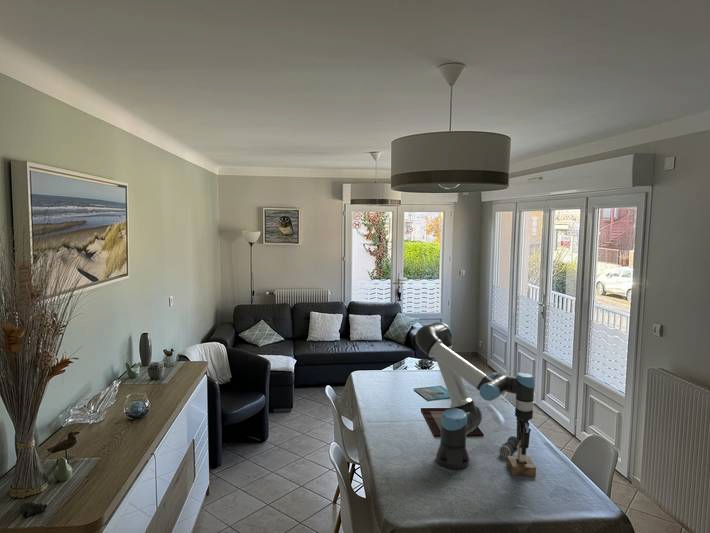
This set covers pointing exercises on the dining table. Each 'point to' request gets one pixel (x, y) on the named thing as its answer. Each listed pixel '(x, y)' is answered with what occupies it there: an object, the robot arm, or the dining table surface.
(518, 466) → the socket block
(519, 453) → the peg
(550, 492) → the dining table surface
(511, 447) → the flashlight
